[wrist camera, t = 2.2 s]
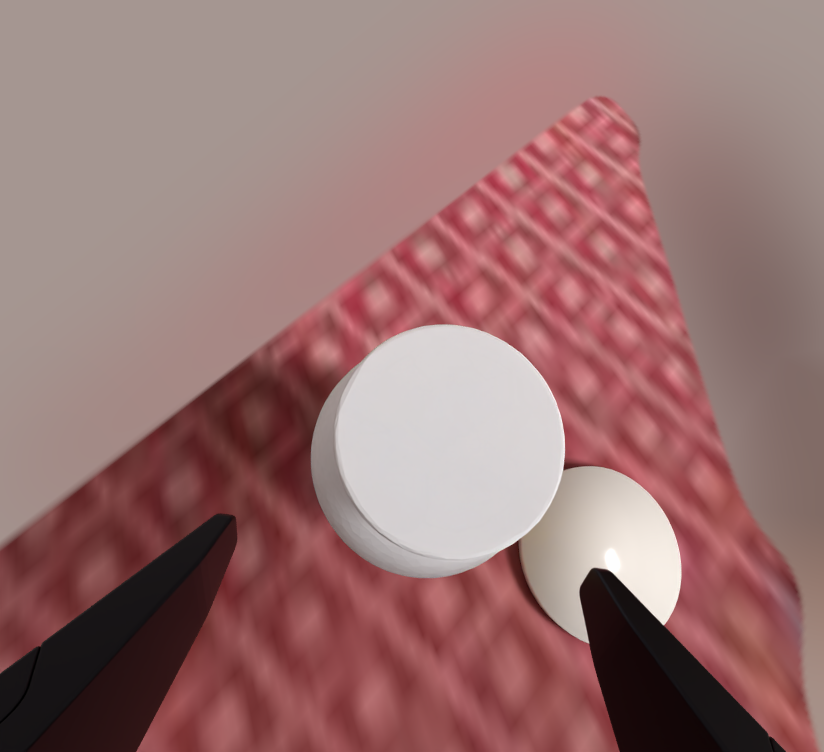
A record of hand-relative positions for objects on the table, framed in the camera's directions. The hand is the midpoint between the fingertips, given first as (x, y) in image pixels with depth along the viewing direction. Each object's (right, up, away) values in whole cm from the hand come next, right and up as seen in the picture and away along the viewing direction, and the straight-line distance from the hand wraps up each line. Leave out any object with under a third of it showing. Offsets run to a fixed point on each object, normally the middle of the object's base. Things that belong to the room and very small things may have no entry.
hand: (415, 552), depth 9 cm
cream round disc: (+10, -5, +10) cm, 15 cm away
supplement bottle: (-1, -1, +10) cm, 10 cm away
